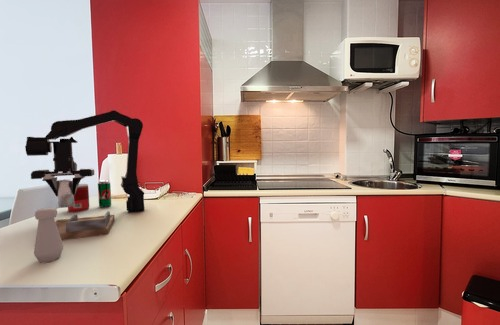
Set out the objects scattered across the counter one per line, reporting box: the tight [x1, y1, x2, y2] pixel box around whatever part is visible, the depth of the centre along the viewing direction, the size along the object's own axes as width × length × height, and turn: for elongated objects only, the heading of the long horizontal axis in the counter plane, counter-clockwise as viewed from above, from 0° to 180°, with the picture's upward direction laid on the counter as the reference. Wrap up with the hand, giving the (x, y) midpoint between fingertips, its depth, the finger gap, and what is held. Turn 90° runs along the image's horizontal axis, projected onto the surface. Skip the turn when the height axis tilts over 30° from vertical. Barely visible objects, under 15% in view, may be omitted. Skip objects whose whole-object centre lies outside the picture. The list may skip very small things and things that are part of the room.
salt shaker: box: [33, 207, 64, 263], centre depth 63 cm, size 6×6×13 cm
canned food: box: [67, 183, 90, 213], centre depth 110 cm, size 8×8×11 cm
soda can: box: [97, 179, 112, 208], centre depth 116 cm, size 5×5×12 cm
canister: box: [57, 178, 74, 209], centre depth 95 cm, size 5×5×10 cm
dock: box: [55, 210, 116, 241], centre depth 84 cm, size 18×16×5 cm
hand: (65, 195), depth 95 cm, fingers closed on canister, 5 cm apart
